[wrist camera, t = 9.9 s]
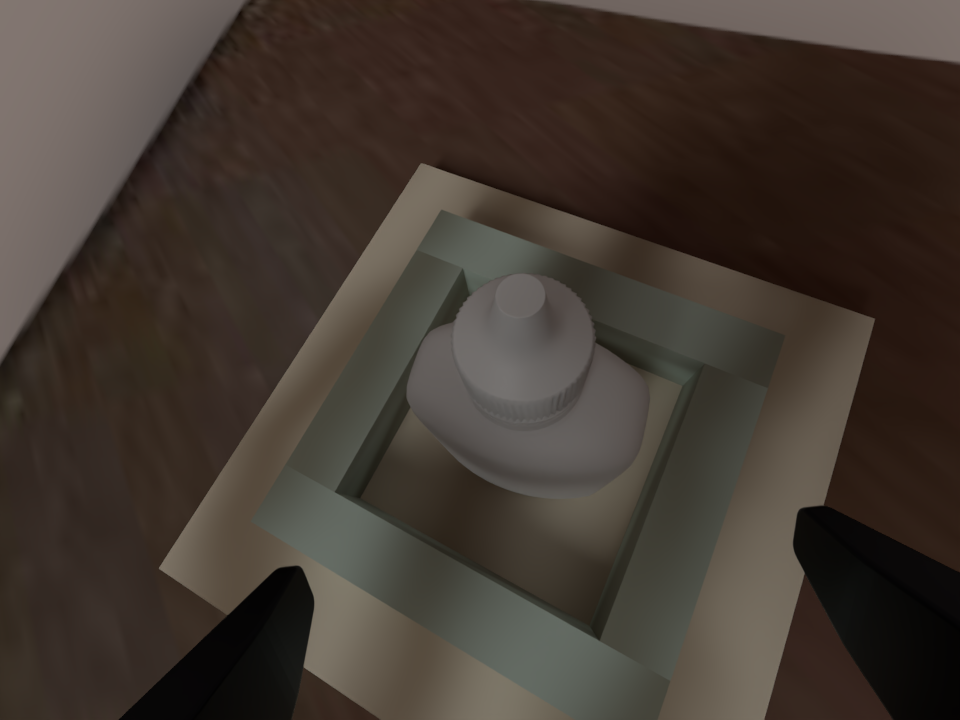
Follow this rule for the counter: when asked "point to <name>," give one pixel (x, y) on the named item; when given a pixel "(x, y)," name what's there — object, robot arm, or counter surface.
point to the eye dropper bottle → (529, 391)
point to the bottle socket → (531, 520)
